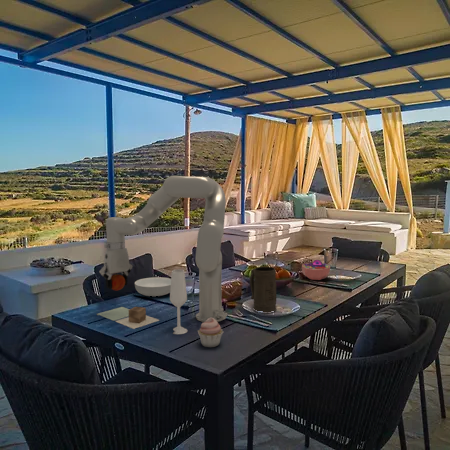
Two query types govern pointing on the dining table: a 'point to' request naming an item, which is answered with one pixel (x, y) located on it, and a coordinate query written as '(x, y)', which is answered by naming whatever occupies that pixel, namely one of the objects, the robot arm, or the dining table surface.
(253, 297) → the beer stein
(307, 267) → the cell model
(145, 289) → the serving bowl
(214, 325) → the cupcake
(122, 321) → the cream mat
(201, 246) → the robot arm
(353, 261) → the dining table surface
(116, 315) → the pale sage mat
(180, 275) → the champagne flute
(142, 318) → the walnut block
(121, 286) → the fruit
